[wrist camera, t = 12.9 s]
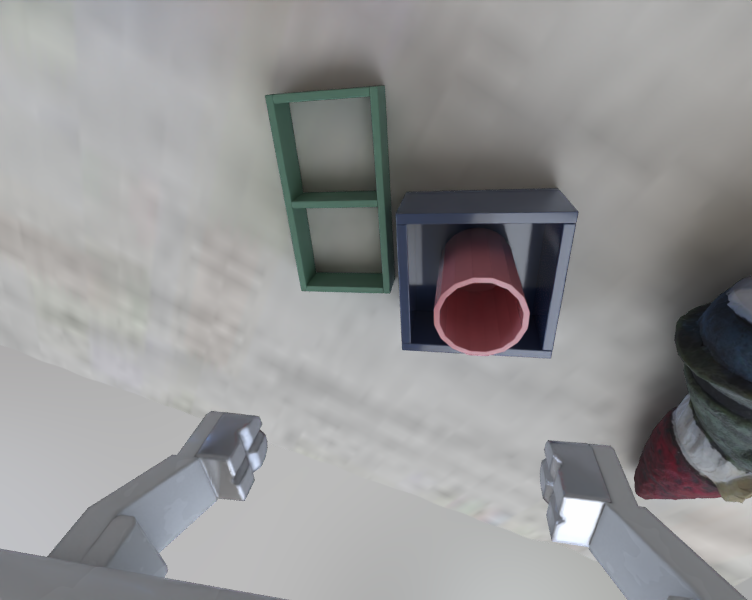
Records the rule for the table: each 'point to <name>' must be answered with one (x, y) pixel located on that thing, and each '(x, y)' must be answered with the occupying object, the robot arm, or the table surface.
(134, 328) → the table surface
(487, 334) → the cup
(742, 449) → the figurine
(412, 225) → the navy blue open box
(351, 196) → the rack
